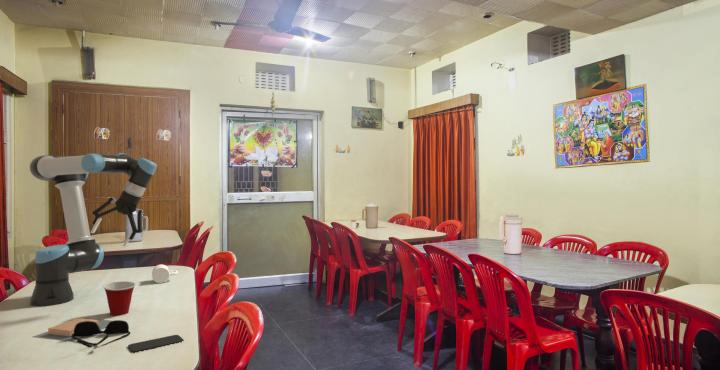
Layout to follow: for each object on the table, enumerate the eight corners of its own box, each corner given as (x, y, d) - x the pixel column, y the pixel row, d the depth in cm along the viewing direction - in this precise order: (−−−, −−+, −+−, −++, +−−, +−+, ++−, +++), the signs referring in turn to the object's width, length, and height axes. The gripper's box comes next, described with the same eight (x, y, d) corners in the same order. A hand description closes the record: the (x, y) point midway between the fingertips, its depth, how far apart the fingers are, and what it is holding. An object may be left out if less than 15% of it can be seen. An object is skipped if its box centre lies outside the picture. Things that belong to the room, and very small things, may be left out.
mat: (32, 339, 139) (32, 336, 139) (86, 320, 158) (86, 318, 158) (70, 343, 134) (70, 341, 134) (121, 323, 154) (121, 321, 154)
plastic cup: (110, 321, 156) (110, 289, 156) (98, 316, 163) (98, 284, 163) (140, 314, 164) (140, 283, 164) (128, 309, 171) (128, 279, 171)
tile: (78, 324, 151) (48, 335, 140) (78, 318, 151) (48, 328, 140) (98, 326, 149) (69, 337, 138) (98, 320, 149) (69, 330, 138)
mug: (152, 284, 215) (152, 268, 215) (152, 280, 224) (152, 265, 224) (178, 281, 220) (178, 266, 220) (177, 278, 229) (176, 263, 229)
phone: (184, 340, 136) (132, 351, 127) (184, 342, 136) (132, 354, 127) (177, 334, 142) (127, 344, 132) (177, 336, 142) (127, 347, 132)
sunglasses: (57, 354, 125) (57, 338, 125) (73, 335, 139) (73, 320, 138) (121, 351, 130) (122, 334, 130) (130, 333, 144) (131, 318, 144)
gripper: (99, 180, 175) (74, 227, 173) (159, 206, 180) (135, 252, 178) (106, 180, 183) (82, 226, 181) (163, 205, 188) (140, 249, 186)
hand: (108, 239), depth 179 cm, fingers open, 13 cm apart
